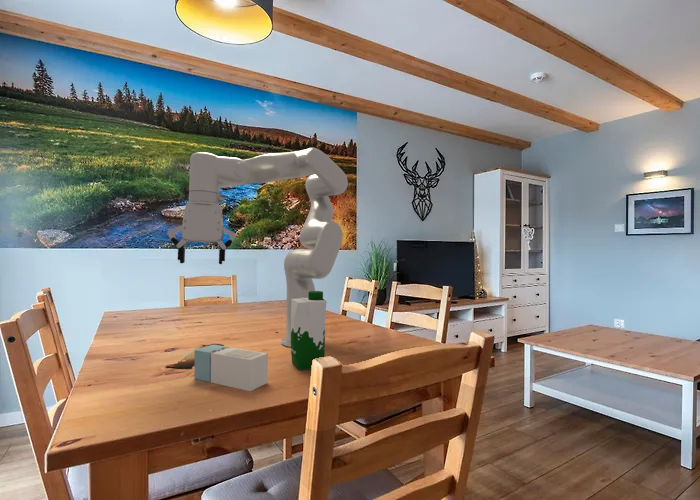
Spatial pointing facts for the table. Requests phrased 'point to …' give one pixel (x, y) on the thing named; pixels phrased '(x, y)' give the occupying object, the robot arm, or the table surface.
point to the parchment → (190, 358)
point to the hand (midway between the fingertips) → (201, 263)
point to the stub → (204, 362)
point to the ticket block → (239, 368)
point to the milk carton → (307, 329)
